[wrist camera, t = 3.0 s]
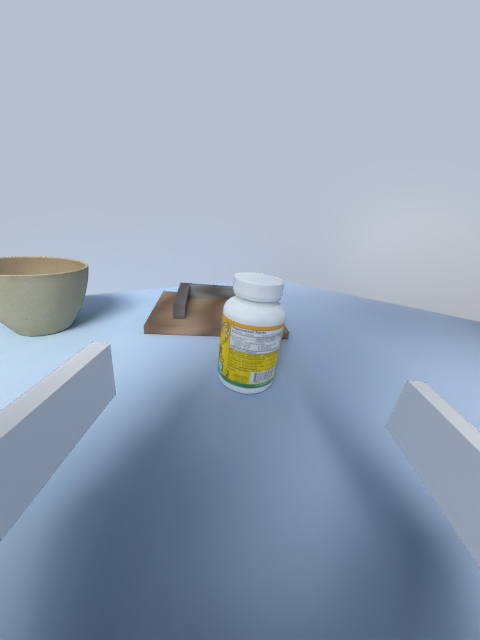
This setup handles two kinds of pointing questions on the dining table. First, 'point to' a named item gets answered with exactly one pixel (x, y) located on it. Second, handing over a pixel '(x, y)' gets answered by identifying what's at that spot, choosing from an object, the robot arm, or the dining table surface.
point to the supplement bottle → (251, 333)
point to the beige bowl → (41, 293)
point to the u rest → (191, 311)
